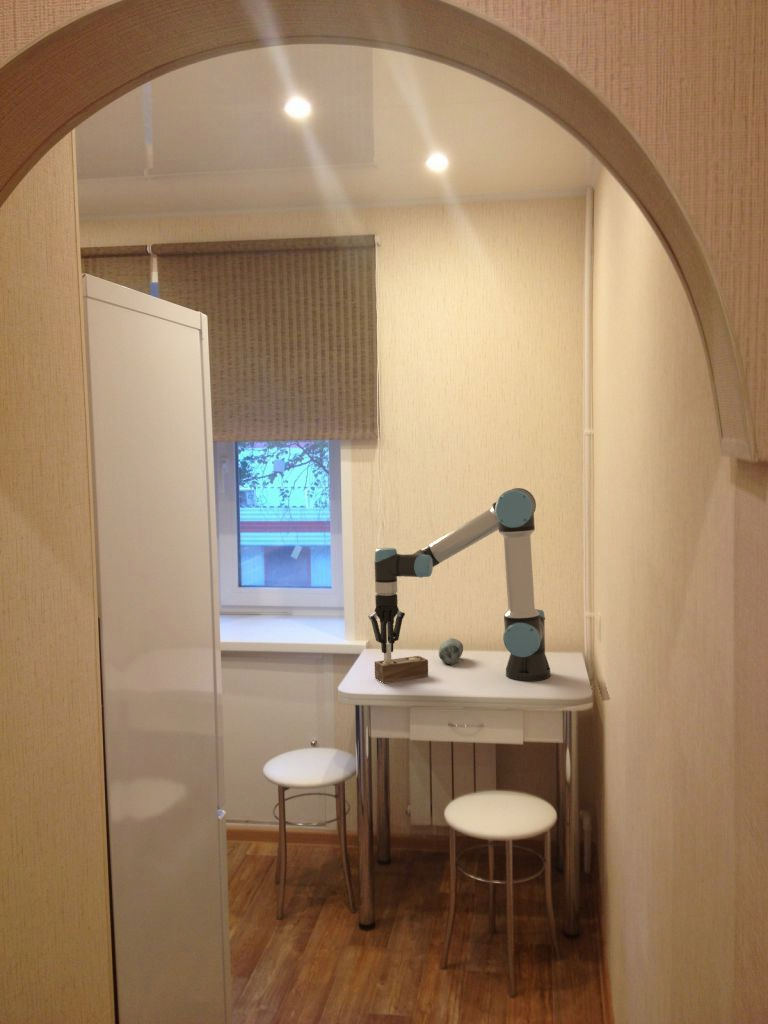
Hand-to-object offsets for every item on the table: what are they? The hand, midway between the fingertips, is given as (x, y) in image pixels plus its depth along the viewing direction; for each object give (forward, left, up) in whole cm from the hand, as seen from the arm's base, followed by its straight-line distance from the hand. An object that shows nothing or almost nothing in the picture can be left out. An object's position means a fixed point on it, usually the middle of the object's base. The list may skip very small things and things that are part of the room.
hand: (387, 661), depth 306 cm
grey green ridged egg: (+12, -31, -7) cm, 34 cm away
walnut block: (0, -5, -6) cm, 8 cm away
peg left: (0, 0, -6) cm, 6 cm away
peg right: (0, -10, -6) cm, 12 cm away
